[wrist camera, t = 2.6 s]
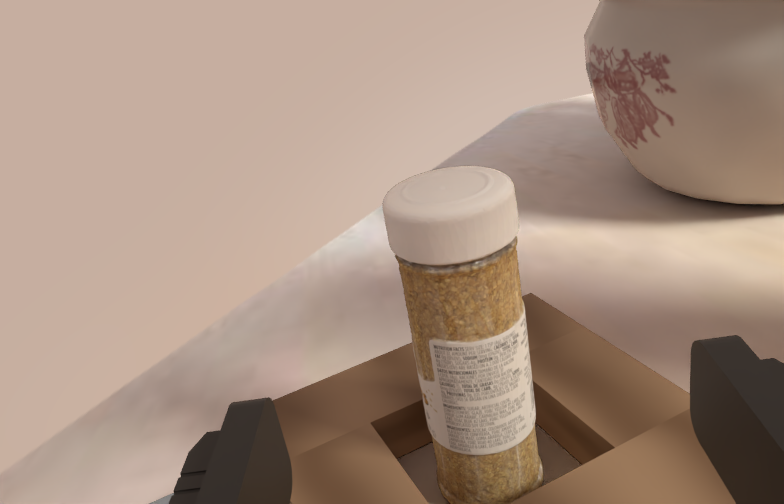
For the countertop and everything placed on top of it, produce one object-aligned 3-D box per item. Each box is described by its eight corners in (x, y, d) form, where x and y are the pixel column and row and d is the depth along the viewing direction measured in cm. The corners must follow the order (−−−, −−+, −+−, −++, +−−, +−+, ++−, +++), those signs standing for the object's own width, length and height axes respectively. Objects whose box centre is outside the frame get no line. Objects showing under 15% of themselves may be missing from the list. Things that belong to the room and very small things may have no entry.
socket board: (535, 331, 38) (531, 292, 37) (798, 519, 25) (804, 467, 23) (262, 450, 33) (249, 410, 32) (405, 769, 20) (390, 717, 18)
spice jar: (444, 443, 31) (393, 168, 26) (545, 442, 30) (515, 155, 25) (431, 522, 27) (367, 218, 22) (547, 525, 26) (511, 205, 21)
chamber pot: (863, 302, 35) (926, -155, 26) (503, 194, 57) (472, -77, 48) (1070, 140, 48) (1159, -209, 39) (709, 102, 69) (714, -127, 60)
